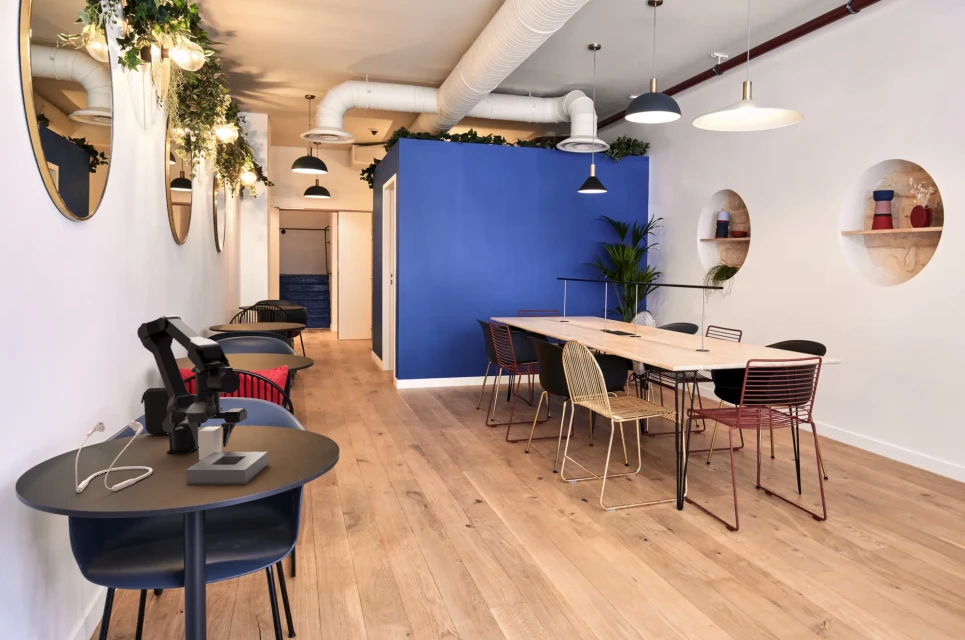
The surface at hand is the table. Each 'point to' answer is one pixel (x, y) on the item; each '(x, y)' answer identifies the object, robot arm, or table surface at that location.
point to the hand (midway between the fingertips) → (210, 446)
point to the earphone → (100, 427)
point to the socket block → (227, 468)
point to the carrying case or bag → (155, 409)
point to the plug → (209, 441)
